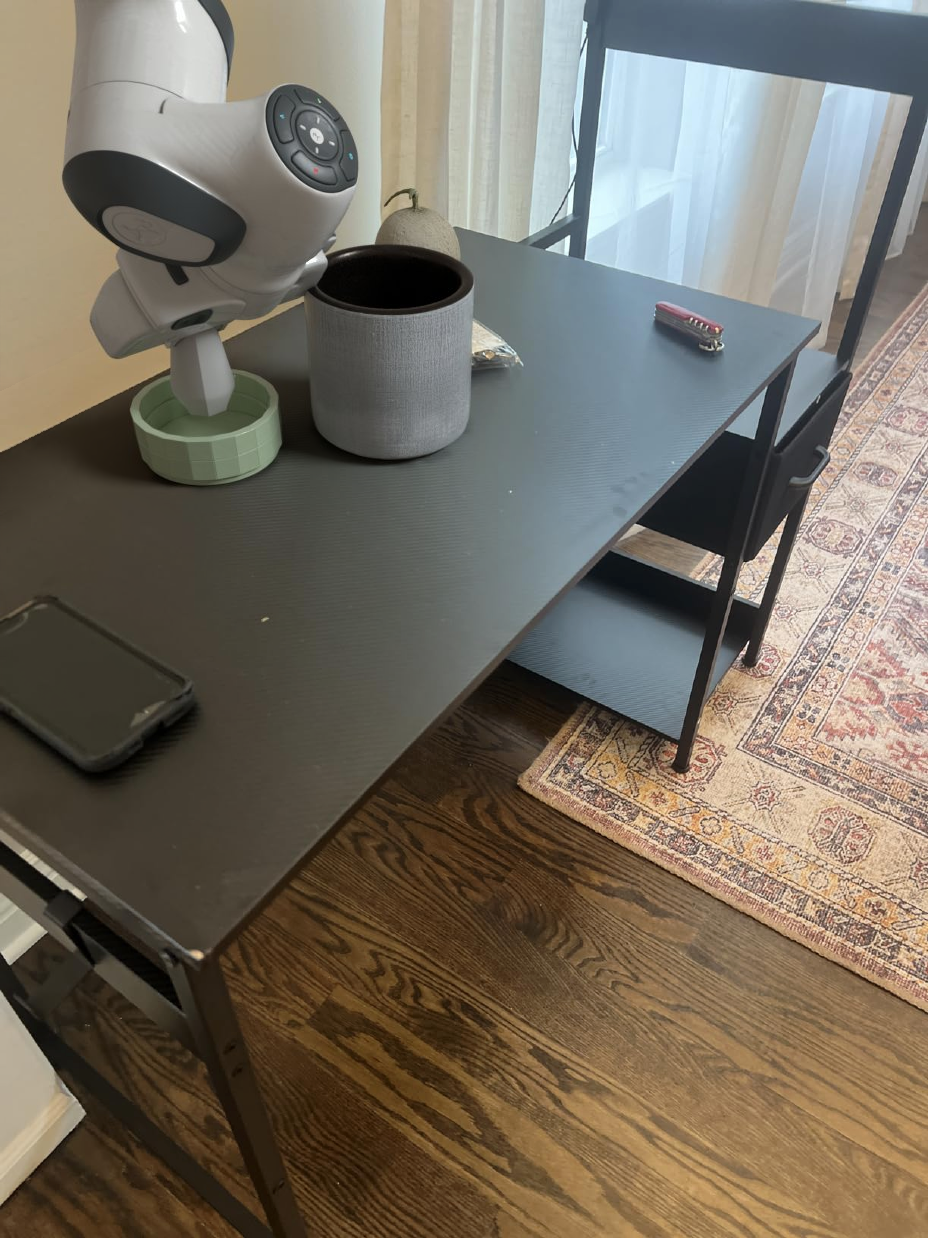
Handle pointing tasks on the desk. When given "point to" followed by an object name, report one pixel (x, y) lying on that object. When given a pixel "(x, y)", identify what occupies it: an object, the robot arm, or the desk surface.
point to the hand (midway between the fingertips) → (190, 331)
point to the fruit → (418, 228)
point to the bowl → (208, 432)
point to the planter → (390, 350)
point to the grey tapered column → (201, 373)
